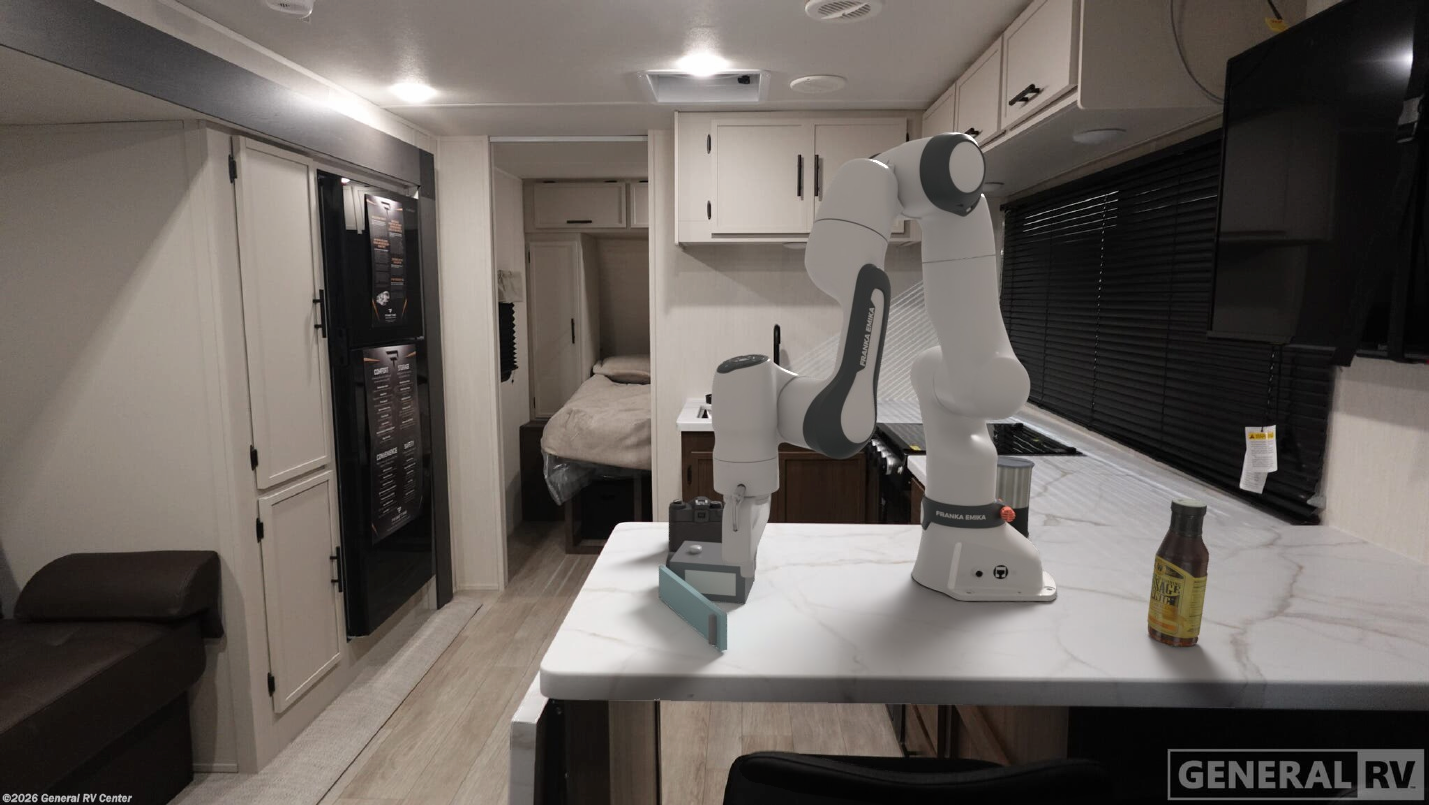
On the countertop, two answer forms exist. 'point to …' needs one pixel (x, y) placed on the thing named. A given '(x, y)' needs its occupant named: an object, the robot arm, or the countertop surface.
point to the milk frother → (1015, 488)
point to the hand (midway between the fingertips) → (748, 573)
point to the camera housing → (709, 572)
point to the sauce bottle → (1180, 577)
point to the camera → (695, 522)
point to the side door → (693, 608)
